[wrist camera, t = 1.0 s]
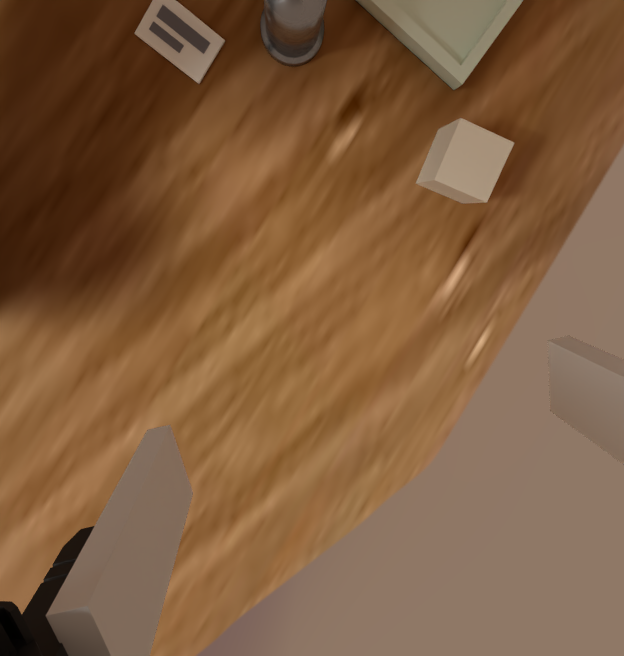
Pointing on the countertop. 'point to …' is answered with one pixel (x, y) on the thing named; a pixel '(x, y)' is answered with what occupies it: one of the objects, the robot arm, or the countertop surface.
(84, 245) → the countertop surface
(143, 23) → the label tile
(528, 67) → the countertop surface
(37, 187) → the countertop surface
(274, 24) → the metal door knob
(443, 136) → the cream block
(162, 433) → the robot arm
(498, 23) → the tray
